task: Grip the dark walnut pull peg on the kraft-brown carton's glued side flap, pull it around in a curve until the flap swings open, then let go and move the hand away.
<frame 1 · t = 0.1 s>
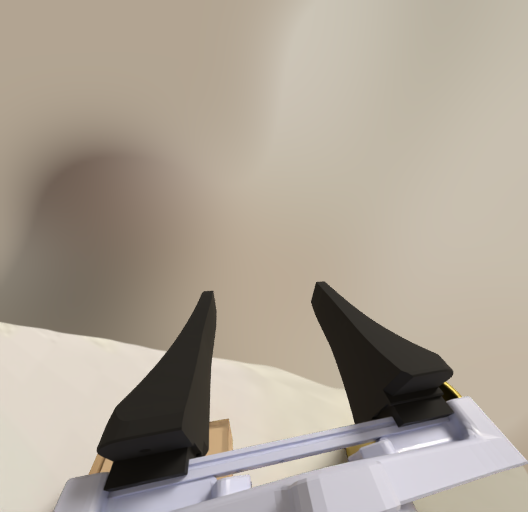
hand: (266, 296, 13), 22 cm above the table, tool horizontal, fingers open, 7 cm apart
vase: (373, 458, 21), on the table
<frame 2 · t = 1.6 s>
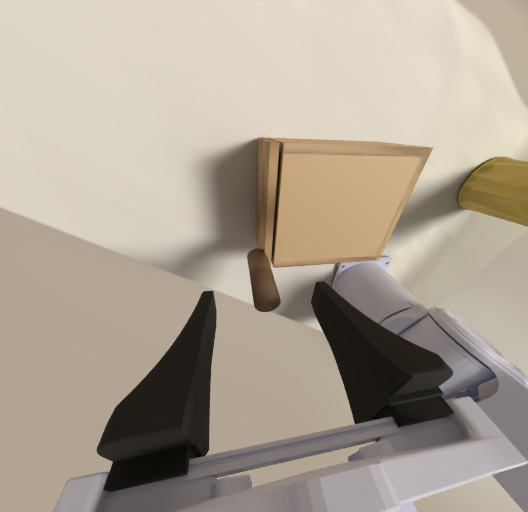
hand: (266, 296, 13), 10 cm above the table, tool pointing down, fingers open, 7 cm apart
flap: (260, 216, 15), point 6 cm above the table, hinge at 0.0°
vase: (480, 183, 23), on the table
carton: (315, 194, 20), on the table
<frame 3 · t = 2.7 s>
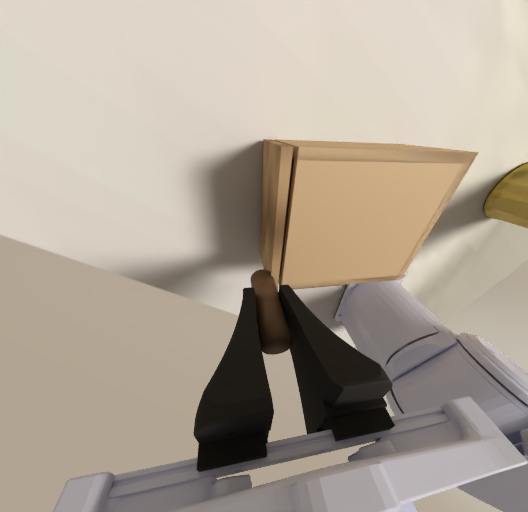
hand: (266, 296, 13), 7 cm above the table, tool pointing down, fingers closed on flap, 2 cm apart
flap: (266, 233, 12), point 6 cm above the table, hinge at 0.0°, touching gripper
vase: (509, 190, 21), on the table
carton: (327, 203, 18), on the table
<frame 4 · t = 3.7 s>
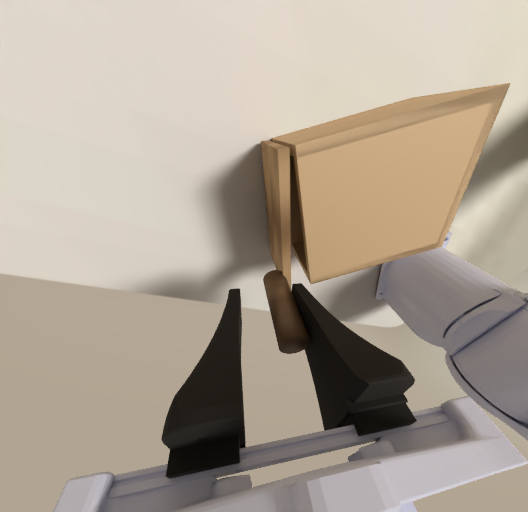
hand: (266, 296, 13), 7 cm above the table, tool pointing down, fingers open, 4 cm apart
flap: (273, 235, 12), point 6 cm above the table, hinge at 7.9°, touching gripper
carton: (340, 184, 17), on the table
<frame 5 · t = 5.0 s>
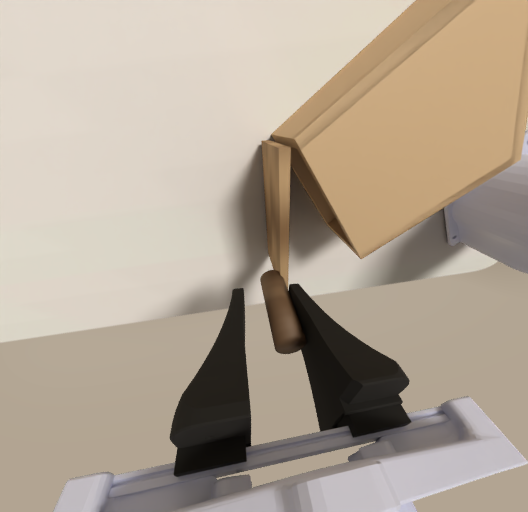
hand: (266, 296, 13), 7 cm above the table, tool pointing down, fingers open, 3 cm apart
flap: (272, 235, 12), point 6 cm above the table, hinge at 34.1°, touching gripper
carton: (359, 142, 15), on the table
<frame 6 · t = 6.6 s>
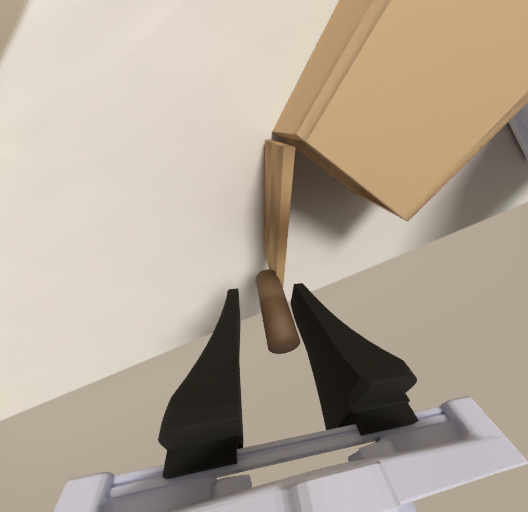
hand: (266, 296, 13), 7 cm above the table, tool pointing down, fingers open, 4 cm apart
flap: (270, 234, 12), point 6 cm above the table, hinge at 59.4°
carton: (369, 95, 13), on the table
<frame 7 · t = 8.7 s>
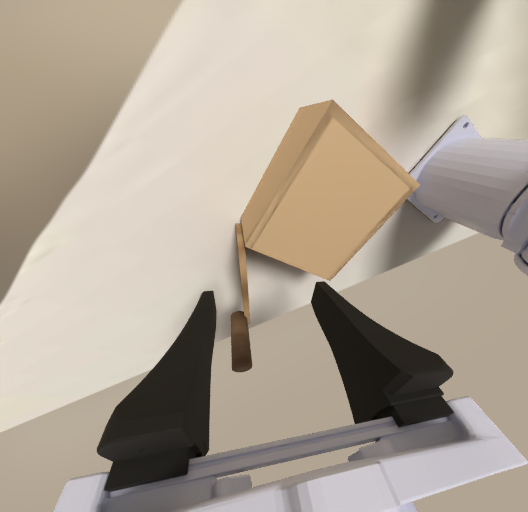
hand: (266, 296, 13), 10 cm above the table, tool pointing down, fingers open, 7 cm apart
flap: (237, 292, 19), point 6 cm above the table, hinge at 59.4°
carton: (305, 194, 20), on the table
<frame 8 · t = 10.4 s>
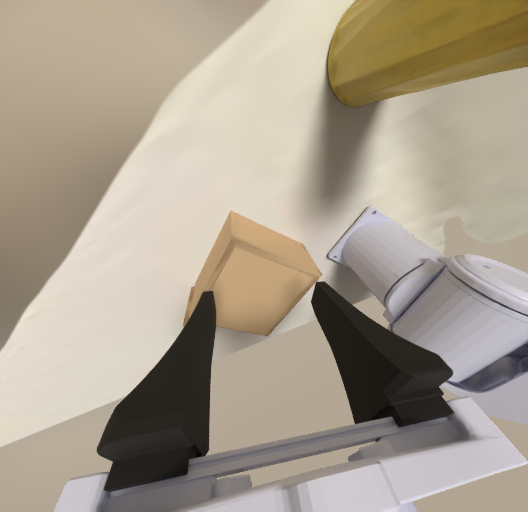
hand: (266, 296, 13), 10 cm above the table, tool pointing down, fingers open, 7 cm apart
flap: (190, 347, 23), point 6 cm above the table, hinge at 59.4°
vase: (362, 57, 15), on the table
carton: (248, 263, 24), on the table
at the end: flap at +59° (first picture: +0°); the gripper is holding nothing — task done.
